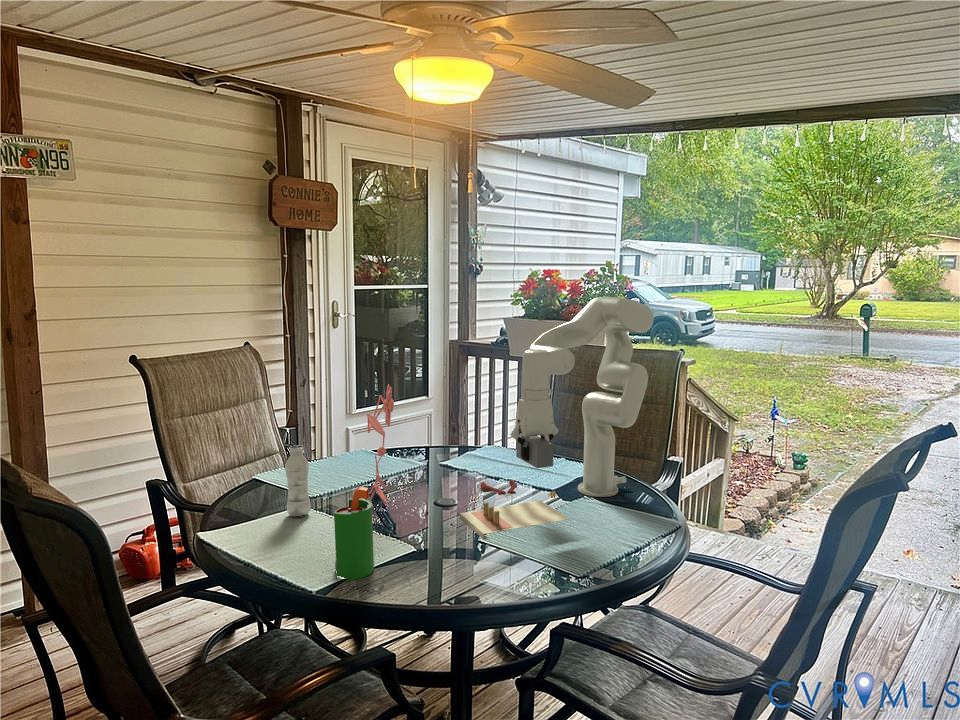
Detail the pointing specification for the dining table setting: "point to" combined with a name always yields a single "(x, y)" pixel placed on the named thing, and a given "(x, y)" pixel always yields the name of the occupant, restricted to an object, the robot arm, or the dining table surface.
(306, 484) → the plastic bottle
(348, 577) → the green cylindrical container
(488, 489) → the pliers
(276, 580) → the dining table surface
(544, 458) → the block
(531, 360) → the robot arm
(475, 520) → the board
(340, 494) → the dining table surface
